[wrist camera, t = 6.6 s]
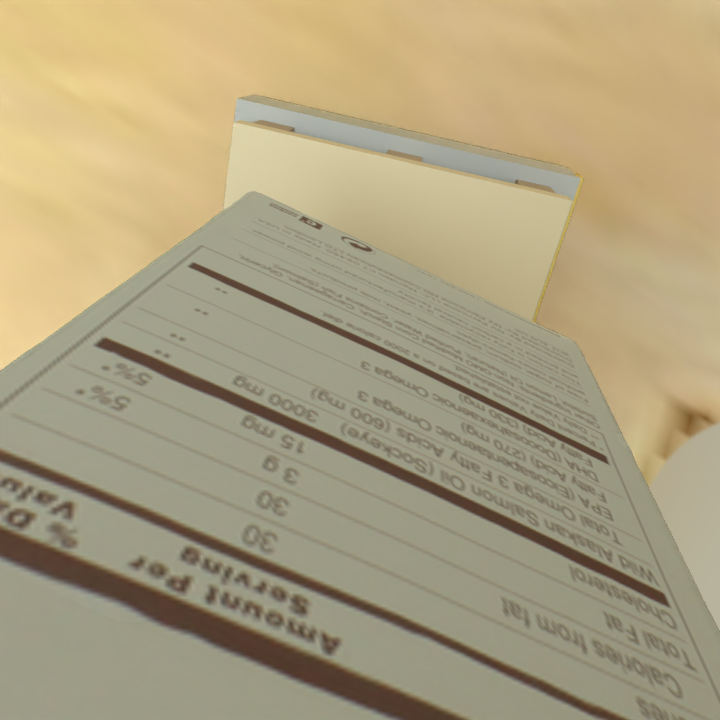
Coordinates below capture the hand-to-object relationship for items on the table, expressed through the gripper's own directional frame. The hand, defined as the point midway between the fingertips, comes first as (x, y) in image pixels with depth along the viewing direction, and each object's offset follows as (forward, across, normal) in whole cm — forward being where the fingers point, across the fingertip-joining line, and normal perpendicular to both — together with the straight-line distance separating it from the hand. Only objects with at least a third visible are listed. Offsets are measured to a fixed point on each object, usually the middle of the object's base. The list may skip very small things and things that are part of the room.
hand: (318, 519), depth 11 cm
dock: (+18, 0, +3) cm, 18 cm away
